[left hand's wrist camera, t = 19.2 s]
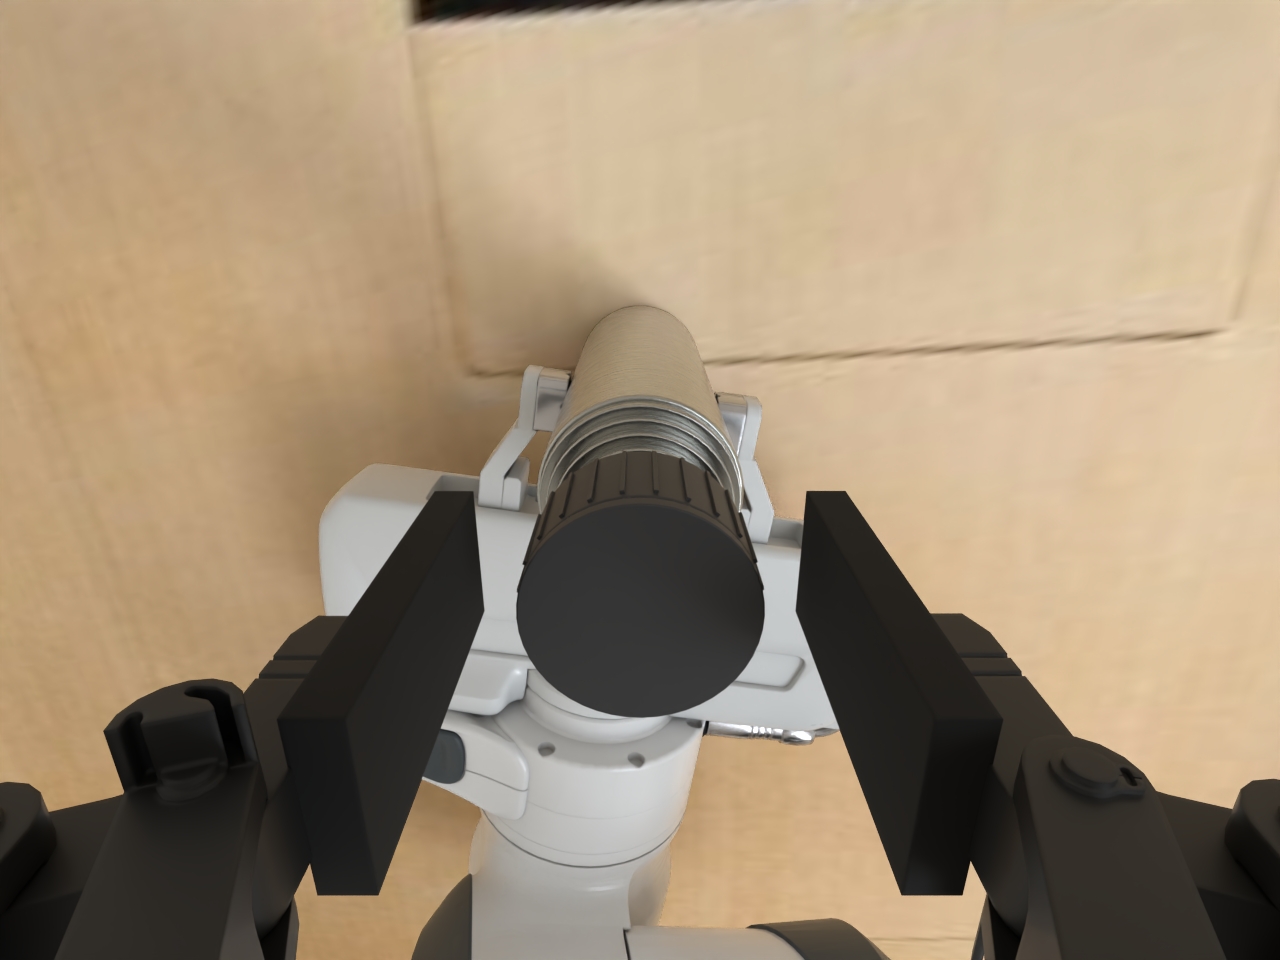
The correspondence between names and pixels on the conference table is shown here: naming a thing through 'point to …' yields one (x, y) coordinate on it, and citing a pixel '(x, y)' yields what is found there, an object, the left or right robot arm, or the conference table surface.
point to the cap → (640, 587)
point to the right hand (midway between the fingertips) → (642, 384)
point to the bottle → (640, 403)
